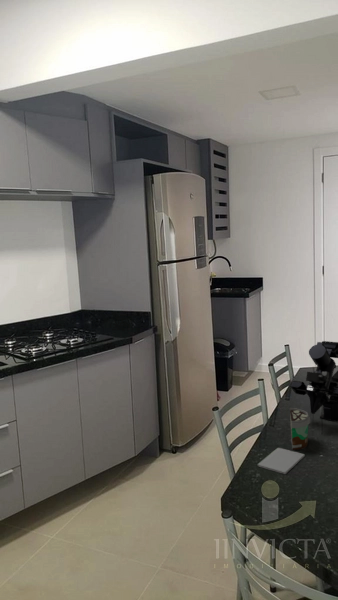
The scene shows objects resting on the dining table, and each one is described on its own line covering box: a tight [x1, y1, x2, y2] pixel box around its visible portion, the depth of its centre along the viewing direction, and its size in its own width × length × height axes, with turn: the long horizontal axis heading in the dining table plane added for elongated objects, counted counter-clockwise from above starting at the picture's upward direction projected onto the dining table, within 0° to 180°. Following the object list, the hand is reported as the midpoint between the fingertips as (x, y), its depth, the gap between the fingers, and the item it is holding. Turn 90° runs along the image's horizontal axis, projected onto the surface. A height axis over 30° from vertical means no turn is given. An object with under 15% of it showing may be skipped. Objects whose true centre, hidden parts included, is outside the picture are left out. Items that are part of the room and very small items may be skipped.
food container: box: [289, 407, 311, 451], centre depth 153 cm, size 12×6×10 cm, turn 168°
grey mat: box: [257, 447, 305, 475], centre depth 143 cm, size 13×9×1 cm
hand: (312, 413), depth 159 cm, fingers closed
